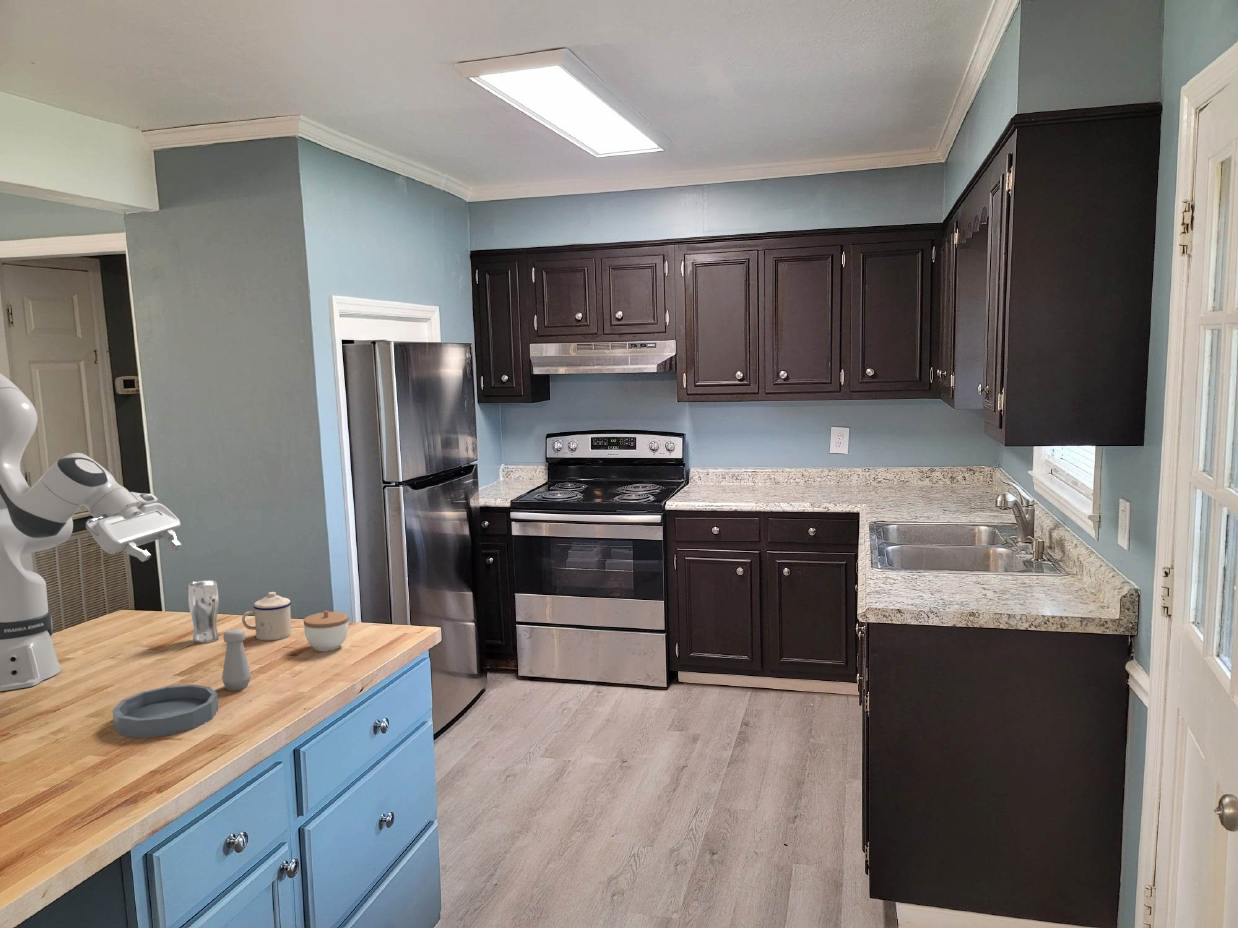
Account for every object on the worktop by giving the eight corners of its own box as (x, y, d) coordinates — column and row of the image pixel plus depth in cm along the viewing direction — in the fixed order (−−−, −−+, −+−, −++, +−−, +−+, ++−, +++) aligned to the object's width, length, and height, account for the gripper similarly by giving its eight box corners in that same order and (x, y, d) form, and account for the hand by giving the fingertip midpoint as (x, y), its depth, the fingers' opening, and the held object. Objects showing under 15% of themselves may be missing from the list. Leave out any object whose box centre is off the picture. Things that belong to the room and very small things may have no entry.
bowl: (127, 745, 159) (126, 727, 159) (106, 716, 173) (105, 700, 172) (228, 719, 171) (227, 702, 171) (201, 694, 184) (200, 678, 184)
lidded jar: (319, 639, 222) (318, 604, 220) (357, 642, 219) (356, 606, 218) (296, 652, 211) (294, 616, 210) (335, 655, 209) (334, 618, 208)
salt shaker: (228, 682, 191) (225, 626, 190) (254, 682, 192) (251, 625, 190) (218, 692, 185) (215, 634, 184) (245, 691, 186) (242, 633, 184)
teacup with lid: (291, 628, 231) (289, 586, 229) (293, 638, 222) (291, 594, 221) (243, 634, 226) (240, 591, 225) (242, 644, 218) (240, 600, 216)
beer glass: (208, 644, 217) (205, 587, 216) (184, 643, 219) (181, 585, 217) (226, 636, 224) (223, 580, 222) (203, 634, 225) (199, 579, 224)
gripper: (88, 510, 179) (134, 555, 179) (158, 492, 199) (201, 533, 198) (73, 531, 181) (119, 576, 180) (145, 512, 201) (187, 552, 200)
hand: (163, 553), depth 189 cm, fingers open, 8 cm apart
